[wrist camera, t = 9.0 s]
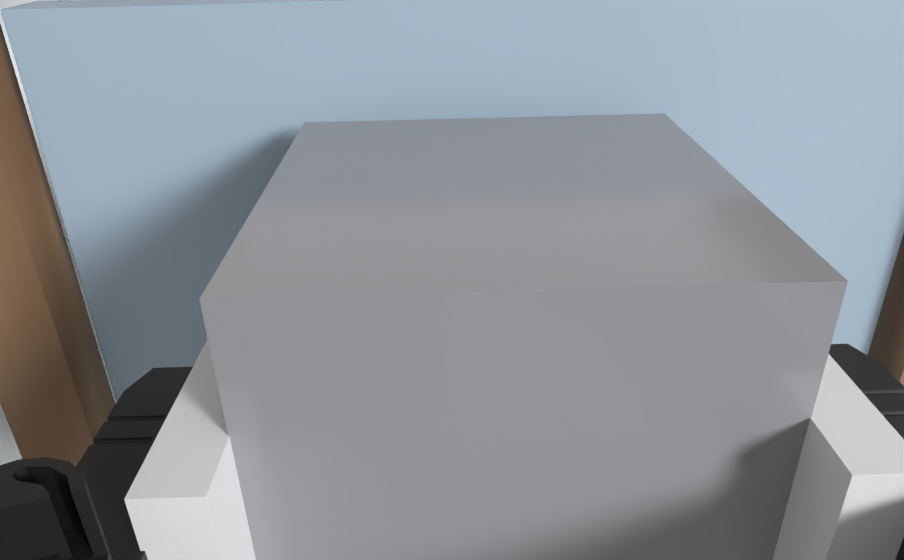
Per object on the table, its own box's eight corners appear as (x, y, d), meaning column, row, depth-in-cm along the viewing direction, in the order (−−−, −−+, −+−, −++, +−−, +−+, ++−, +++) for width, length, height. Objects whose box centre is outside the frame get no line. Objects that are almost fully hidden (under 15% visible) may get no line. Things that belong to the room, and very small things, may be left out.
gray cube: (338, 411, 15) (283, 698, 9) (304, 122, 12) (199, 298, 7) (629, 402, 15) (740, 683, 9) (664, 113, 12) (848, 281, 7)
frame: (244, 325, 32) (97, 648, 18) (145, -212, 23) (-312, -390, 9) (689, 313, 32) (881, 625, 18) (773, -227, 23) (1293, -427, 9)
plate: (210, 610, 21) (189, 675, 19) (47, -2, 13) (-14, 13, 11) (758, 594, 21) (788, 658, 19) (918, -24, 13) (993, -13, 11)
